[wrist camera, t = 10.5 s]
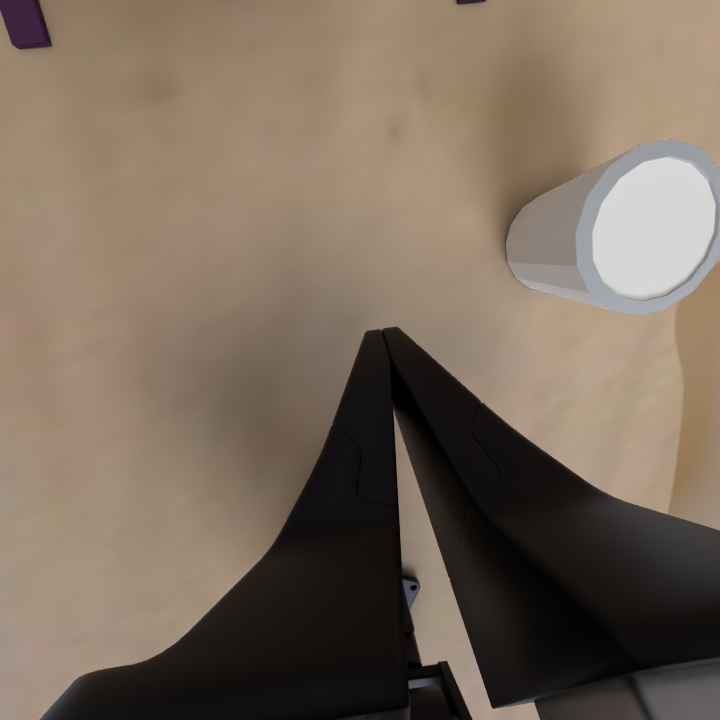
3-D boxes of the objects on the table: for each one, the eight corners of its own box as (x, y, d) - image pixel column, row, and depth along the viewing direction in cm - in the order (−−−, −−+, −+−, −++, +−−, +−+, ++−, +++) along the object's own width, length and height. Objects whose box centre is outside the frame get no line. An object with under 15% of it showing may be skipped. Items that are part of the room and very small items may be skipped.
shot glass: (513, 318, 22) (596, 340, 15) (480, 209, 20) (559, 181, 14) (614, 274, 22) (742, 277, 15) (590, 160, 20) (724, 107, 14)
